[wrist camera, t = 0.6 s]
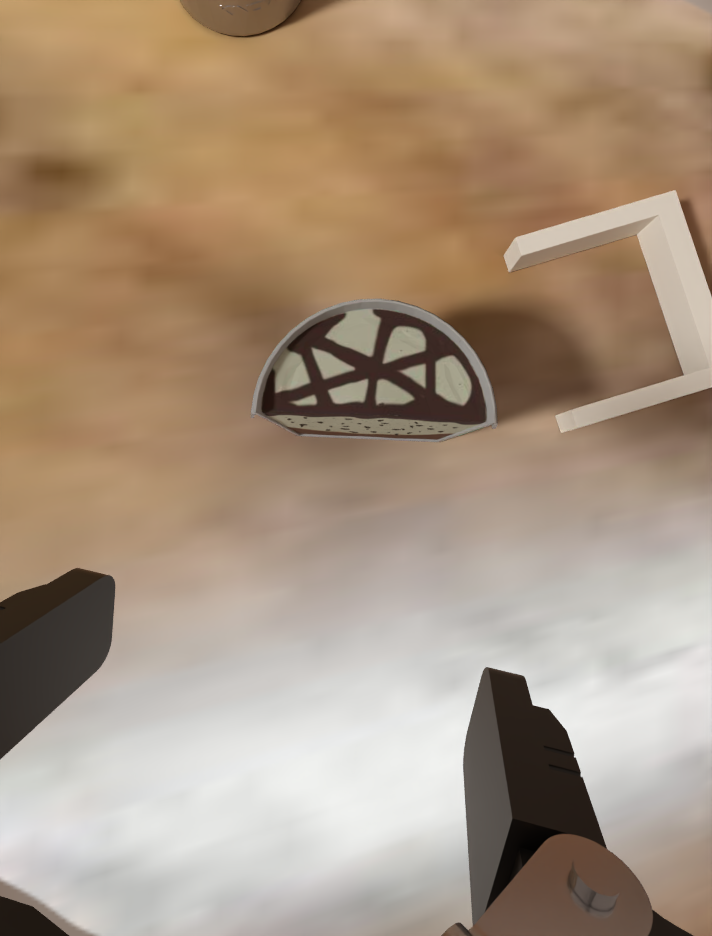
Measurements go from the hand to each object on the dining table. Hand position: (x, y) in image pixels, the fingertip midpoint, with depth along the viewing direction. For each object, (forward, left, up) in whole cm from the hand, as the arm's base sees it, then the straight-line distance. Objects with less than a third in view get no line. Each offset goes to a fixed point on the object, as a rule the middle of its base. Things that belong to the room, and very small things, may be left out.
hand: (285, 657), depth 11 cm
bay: (-9, +22, -23) cm, 33 cm away
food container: (-9, +5, -23) cm, 25 cm away
